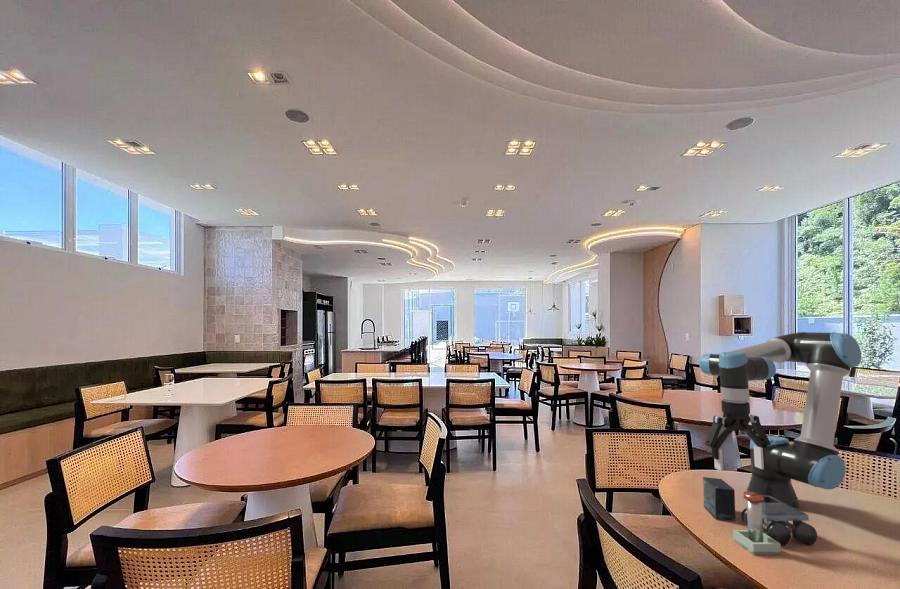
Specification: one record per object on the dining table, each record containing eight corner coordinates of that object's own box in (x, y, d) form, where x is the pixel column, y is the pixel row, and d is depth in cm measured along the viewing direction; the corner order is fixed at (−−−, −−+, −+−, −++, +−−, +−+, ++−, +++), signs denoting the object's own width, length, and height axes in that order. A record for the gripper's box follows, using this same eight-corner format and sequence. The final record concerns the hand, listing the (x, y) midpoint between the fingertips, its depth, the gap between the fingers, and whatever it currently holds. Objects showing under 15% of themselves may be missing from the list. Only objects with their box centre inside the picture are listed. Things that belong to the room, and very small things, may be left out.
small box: (737, 522, 136) (736, 489, 137) (715, 520, 138) (714, 487, 138) (723, 508, 147) (721, 477, 148) (702, 506, 148) (701, 476, 149)
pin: (757, 540, 123) (755, 491, 124) (770, 548, 118) (767, 497, 119) (742, 540, 123) (739, 491, 124) (754, 549, 118) (751, 498, 119)
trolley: (783, 525, 134) (781, 491, 135) (817, 545, 122) (815, 507, 123) (741, 526, 133) (740, 491, 134) (771, 546, 121) (769, 508, 122)
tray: (759, 540, 125) (758, 529, 125) (781, 554, 117) (780, 543, 117) (733, 540, 125) (732, 530, 125) (753, 555, 117) (753, 544, 117)
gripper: (761, 397, 137) (766, 463, 135) (690, 399, 135) (693, 466, 133) (781, 401, 129) (786, 471, 128) (706, 404, 127) (710, 474, 126)
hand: (739, 468), depth 131 cm, fingers open, 13 cm apart
